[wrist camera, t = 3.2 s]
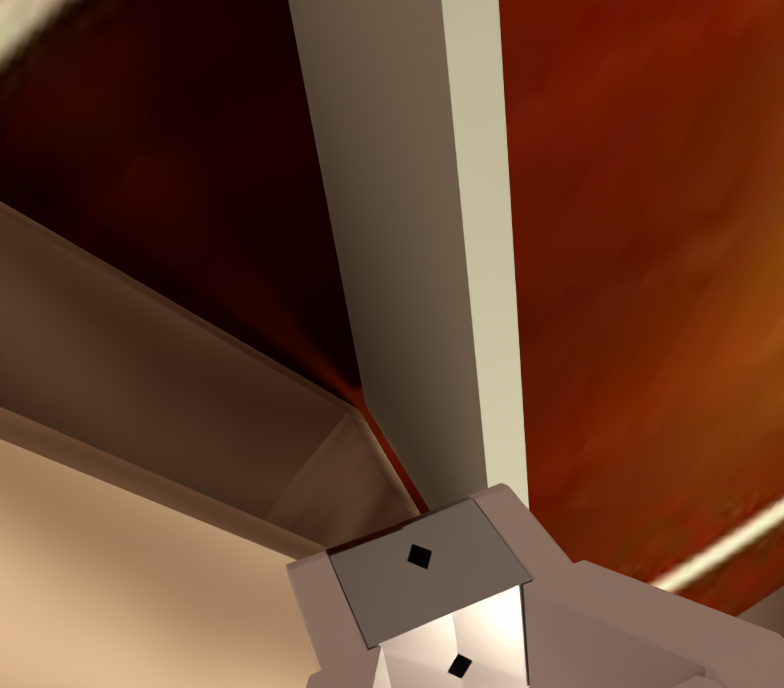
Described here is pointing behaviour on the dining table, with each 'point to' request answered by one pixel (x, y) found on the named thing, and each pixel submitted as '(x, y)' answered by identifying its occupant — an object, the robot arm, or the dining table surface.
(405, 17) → the side door
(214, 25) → the dining table surface
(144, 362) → the oak cabinet
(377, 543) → the robot arm
